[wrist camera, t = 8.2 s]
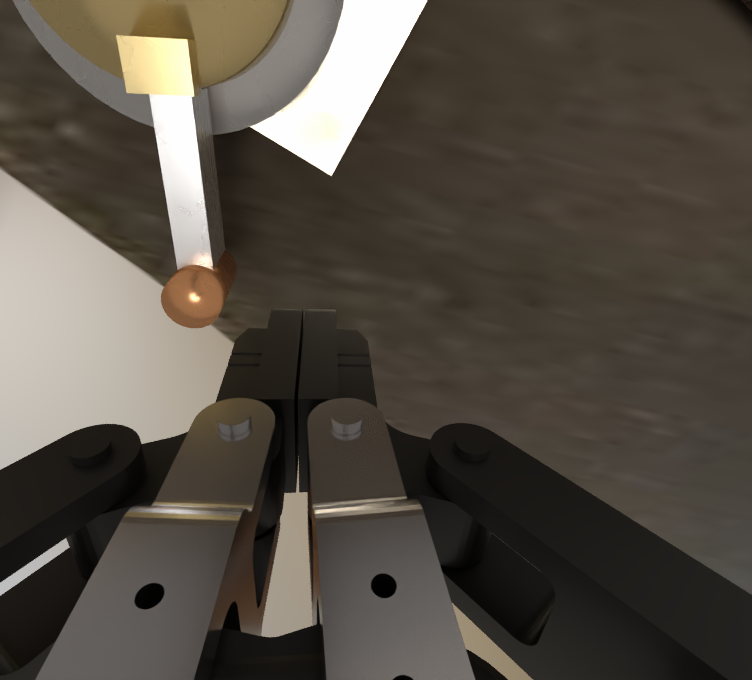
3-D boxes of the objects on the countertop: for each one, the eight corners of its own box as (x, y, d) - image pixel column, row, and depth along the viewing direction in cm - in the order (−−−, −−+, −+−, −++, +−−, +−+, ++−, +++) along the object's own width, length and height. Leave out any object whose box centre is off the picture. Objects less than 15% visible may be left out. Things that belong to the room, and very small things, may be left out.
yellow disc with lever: (-15, -267, 16) (-125, -374, 12) (298, -230, 17) (288, -317, 13) (116, 289, 26) (79, 327, 22) (308, 291, 27) (305, 328, 23)
